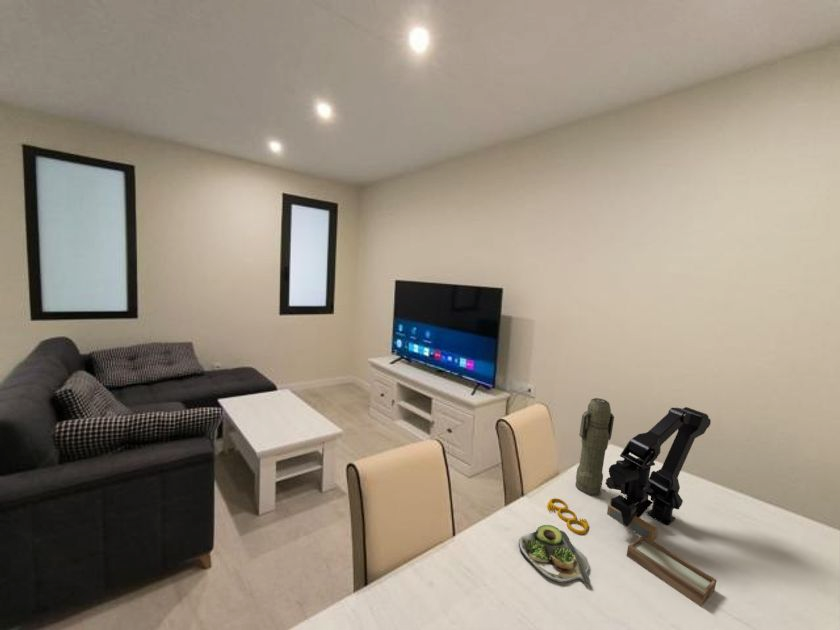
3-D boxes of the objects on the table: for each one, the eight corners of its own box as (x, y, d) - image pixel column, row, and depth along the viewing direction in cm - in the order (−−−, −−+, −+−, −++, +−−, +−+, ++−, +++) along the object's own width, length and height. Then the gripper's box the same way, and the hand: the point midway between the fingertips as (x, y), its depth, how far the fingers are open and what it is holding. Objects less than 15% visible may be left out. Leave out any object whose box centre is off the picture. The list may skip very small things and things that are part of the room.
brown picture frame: (641, 544, 108) (643, 534, 107) (714, 590, 93) (716, 580, 93) (626, 555, 103) (628, 545, 102) (701, 606, 88) (703, 595, 88)
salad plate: (610, 579, 94) (612, 564, 94) (560, 601, 87) (563, 584, 86) (555, 529, 112) (557, 516, 111) (510, 543, 104) (511, 529, 104)
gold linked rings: (567, 536, 109) (596, 535, 111) (567, 532, 109) (597, 530, 111) (540, 502, 125) (566, 501, 127) (541, 498, 125) (567, 497, 127)
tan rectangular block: (612, 511, 123) (613, 502, 122) (656, 539, 111) (658, 528, 111) (606, 515, 121) (607, 505, 120) (650, 543, 109) (652, 532, 109)
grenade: (566, 482, 138) (578, 396, 134) (592, 480, 141) (605, 396, 137) (581, 496, 130) (595, 405, 125) (609, 494, 132) (623, 404, 128)
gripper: (626, 459, 126) (620, 500, 127) (597, 472, 115) (591, 516, 117) (661, 475, 116) (654, 519, 118) (633, 491, 106) (625, 539, 108)
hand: (630, 522), depth 116 cm, fingers open, 6 cm apart
